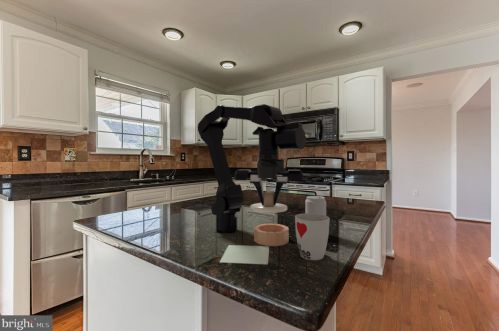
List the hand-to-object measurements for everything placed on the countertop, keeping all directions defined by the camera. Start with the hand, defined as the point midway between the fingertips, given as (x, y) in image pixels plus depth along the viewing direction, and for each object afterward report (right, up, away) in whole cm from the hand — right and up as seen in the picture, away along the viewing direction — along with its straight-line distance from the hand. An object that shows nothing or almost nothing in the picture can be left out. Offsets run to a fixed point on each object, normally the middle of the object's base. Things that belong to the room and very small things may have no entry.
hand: (268, 205), depth 69 cm
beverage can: (+16, -11, +8) cm, 21 cm away
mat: (-6, -11, -9) cm, 16 cm away
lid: (0, -1, 0) cm, 1 cm away
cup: (+10, -11, -10) cm, 18 cm away
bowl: (+1, -11, +1) cm, 11 cm away
